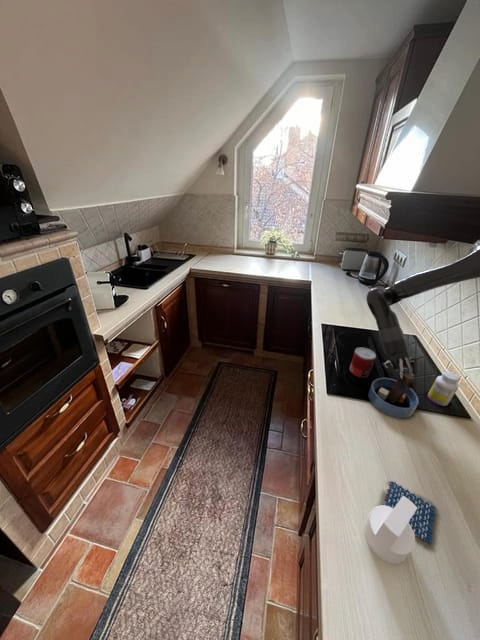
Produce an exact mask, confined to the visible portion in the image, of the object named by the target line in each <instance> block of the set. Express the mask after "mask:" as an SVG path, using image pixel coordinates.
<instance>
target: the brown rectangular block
mask: <svg viewBox="0 0 480 640" xmlns="http://www.w3.org/2000/svg"><path fill="white" fill-rule="evenodd" d="M403 379H404V380H405V383H406V387H407V389H408V387H409V386H410V385H411V383H412V382H413V380H414V381H415V379H416V378H415V377H414V376H412V375H411V374H409V373H408V371H407V372H406V373H403ZM405 392H406V390H400V388H399V386H398V383H397V381H396V383H395V385H394V386H393V388H392V389H391V391H390V390H389V394H388V396H387V398H386V399H388V400H389V401H390V402H391V403H393V404H394V403H398V402H399V401H400V399H401V398H402V396H403V395H404V393H405ZM399 403H400V402H399Z"/></svg>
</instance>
